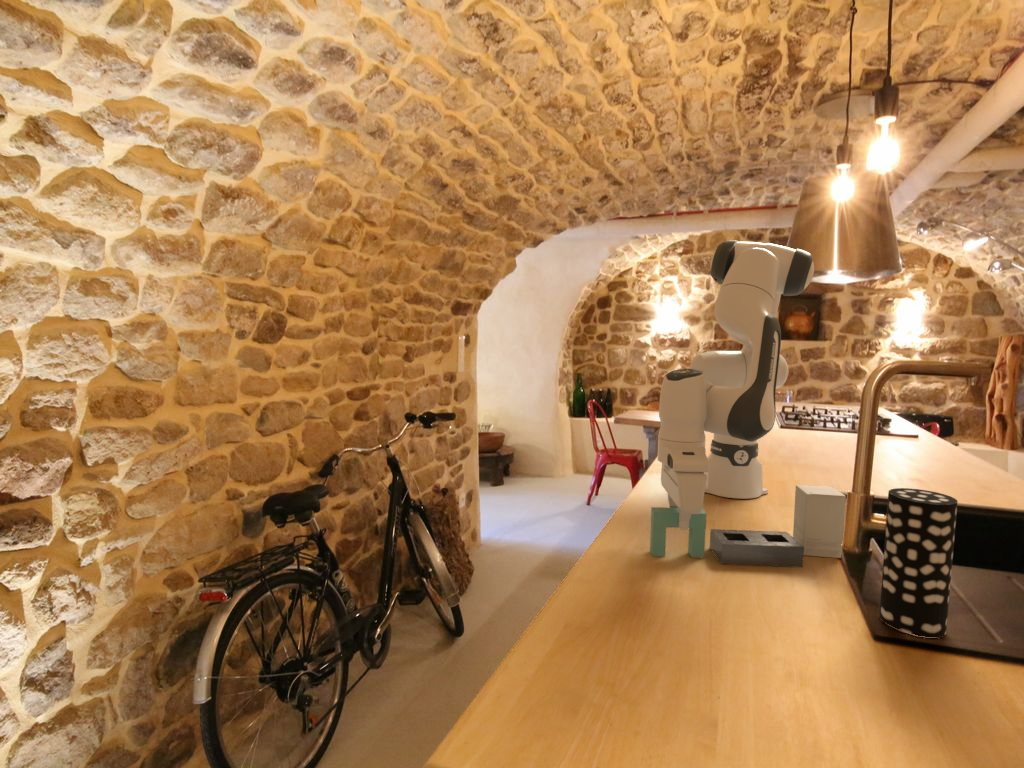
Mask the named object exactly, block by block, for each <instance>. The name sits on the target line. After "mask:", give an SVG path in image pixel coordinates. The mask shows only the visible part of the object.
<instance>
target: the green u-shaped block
mask: <svg viewBox="0 0 1024 768" xmlns="http://www.w3.org/2000/svg"><path fill="white" fill-rule="evenodd" d="M678 518H679V509H678V508H669V507H660V506H659V507H657V506H654V507H653V506H651V507H650V537H649V538H650V542H649V552H650V554H651V556H652V557H663V556H665V557H666V548H667V547H666V546H667V544H666V543H667V541H666V540H667V528H675V529H677V528H678V529H679V527H678ZM706 525H707V513H706V511H705V510H704V508H702V510H701V512H700V514H692V515H691V518H690V520H689V529H688V545H687V553H688V555H689V554H690V555H689V557H690V556H691V557H704V558H705V545H706V529H707V526H706ZM691 557H690V558H691Z"/></svg>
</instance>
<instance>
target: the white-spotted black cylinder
mask: <svg viewBox="0 0 1024 768" xmlns="http://www.w3.org/2000/svg"><path fill="white" fill-rule="evenodd" d="M957 511H958V499H956V498H954V497H953V496H950V495H947V494H944V493H940V492H936V491H932V490H928V489H927V490H926V489H919V488H908V487H907V488H905V487H903V488H902V487H900V488H899V487H898V488H891V489H889V490H888V493H887V506H886V523H885V534H884V535H885V536H884V548H883V549H884V550H883V551H884V552H883V558H882V559H883V561H882V573H881V589H880V599H879V600H880V603H879V615H880V617H879V619H880V618H881V619H882V620H883V621H884V622H886V623H887V624H889V625H891V626H893V627H895V628H897V629H900V630H903V631H906V632H908V633H911V634H915V635H918V636H925V637H942V636H944V635H945V634H946V635H947V627H948V616H949V605H950V604H949V603H950V593H951V583H952V570H953V561H954V560H953V558H954V547H955V535H956V524H957V515H958V514H957ZM881 619H880V620H881ZM946 635H945V636H946ZM945 636H944V637H945ZM942 638H943V637H942Z"/></svg>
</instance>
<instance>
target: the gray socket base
mask: <svg viewBox="0 0 1024 768" xmlns="http://www.w3.org/2000/svg"><path fill="white" fill-rule="evenodd" d="M709 531H710V532H709V533H710V534H709V535H710V536H709V549H710V548H711V549H710V551H711V550H712V551H713V552H712V551H711V552H712V554H715V555H716V556H715V555H714V556H715V558H716V559H717V558H718V559H719V560H718V559H717V560H718V562H719V561H720V562H721V563H720V562H719V563H720V565H728V564H734V566H735V564H736V566H755V567H756V566H761V567H780V568H781V567H783V568H803V567H804V556H805V555H804V546H803V545H801V544H800V543H799V542H798V541H797V540H796V539H794V538H793V535H791V534H790V533H789V532H787V531H779V530H778V531H773V530H751V529H750V530H746V529H719V528H718V529H717V528H716V529H715V528H711V529H710V530H709Z"/></svg>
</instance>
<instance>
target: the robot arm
mask: <svg viewBox="0 0 1024 768" xmlns="http://www.w3.org/2000/svg"><path fill="white" fill-rule="evenodd" d="M709 264H710V265H709V267H710V276H711V278H712V279H713V281H715V283H718V284H720V285H721V286H720V289H719V292H718V294H717V297H716V299H715V304H714V309H713V310H714V311H713V313H714V318H715V320H716V322H717V324H718V326H720V328H721V329H722V330H723V331H724V332H726V334H728V335H729V337H730V338H732V340H734V341H735V342H738V343H739V344H741V345H742V348H741V349H740V350H711V351H705V352H700V353H696V355H695V356H694V357H693V359H692V360H691V361H690V364H689V368H683V369H675V370H671V371H669V372H668V373H665V375H664V377H663V379H662V383H661V387H660V392H659V403H658V405H659V406H658V417H659V421H660V429H659V430H658V431H659V432H658V435H657V436H658V437H657V438H658V439H657V461H658V462H660V463H661V471H660V483H661V486H662V488H663V489H664V491H665V492H666V493H667V500H668V508H678V509H679V518H678V527H679V528H678V529H679V530H681V531H689V520H690V518H691V515H692V514H700V512H701V510H702V509H704V508H703V507H704V501H705V493H706V494H712V495H714V496H718V497H721V498H722V497H723V498H729V499H730V498H731V499H739V500H740V499H743V500H744V499H746V500H747V499H756V498H759V497H761V496H762V495H765V494H766V495H767V494H768V493H769V491H768V490H769V489H768V488H766V487H764V481H763V480H764V476H763V473H764V471H763V468H764V467H763V463H762V462H761V461H760V460H759V459H758V456H759V449H760V448H759V443H758V441H757V440H759V439H762V438H763V437H765V436H766V435H767V434H769V432H771V430H773V427H774V425H775V422H776V409H777V408H776V390H777V389H780V388H781V387H783V385H784V384H786V381H787V379H788V376H789V365H788V362H787V360H786V359H785V357H784V356H783V355H782V354H781V344H782V343H781V342H782V330H781V325H780V322H779V319H777V313H778V310H779V305H780V301H781V298H782V296H784V297H794V296H798V295H800V294H802V293H804V291H805V289H806V288H807V287H808V286H809V285H810V284H811V282H812V280H813V277H814V272H815V264H814V257H813V255H812V254H811V253H810V252H808V251H806V250H804V249H800V248H796V249H795V248H791V247H788V246H783V245H779V244H774V243H771V242H767V243H763V242H755V241H739V240H736V239H730V240H724V241H722V242H721V243H719V244H718V245H717V247H716V249H715V250H714V252H713V254H712V255H711V258H710V263H709ZM705 432H707V433H710V434H713V439H711V443H710V450H709V451H710V453H709V454H708V456H707V454H706V434H705Z"/></svg>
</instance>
